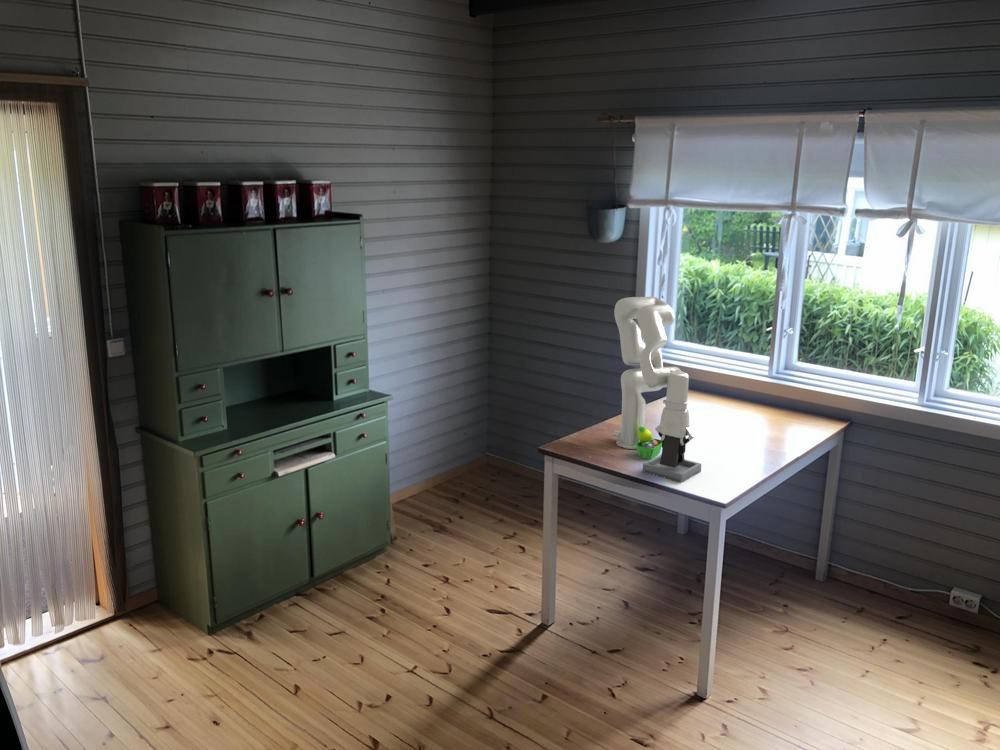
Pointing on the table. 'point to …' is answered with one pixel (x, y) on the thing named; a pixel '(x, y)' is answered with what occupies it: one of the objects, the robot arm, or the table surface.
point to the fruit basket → (647, 444)
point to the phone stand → (671, 452)
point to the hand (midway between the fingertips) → (673, 451)
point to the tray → (672, 469)
